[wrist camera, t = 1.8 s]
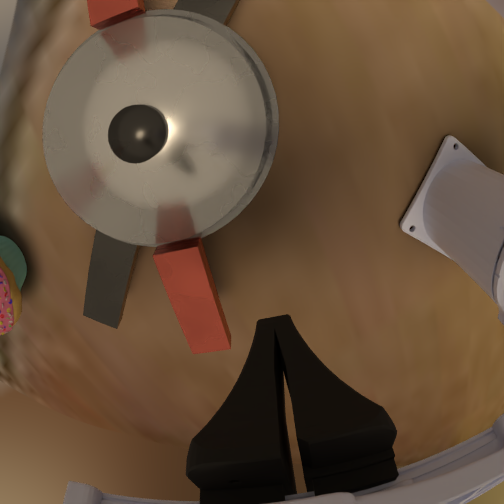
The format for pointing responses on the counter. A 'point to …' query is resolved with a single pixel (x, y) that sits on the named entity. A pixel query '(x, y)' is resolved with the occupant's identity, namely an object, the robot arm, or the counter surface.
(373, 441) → the robot arm
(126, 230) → the lid
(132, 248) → the pot
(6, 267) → the cupcake
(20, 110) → the counter surface
